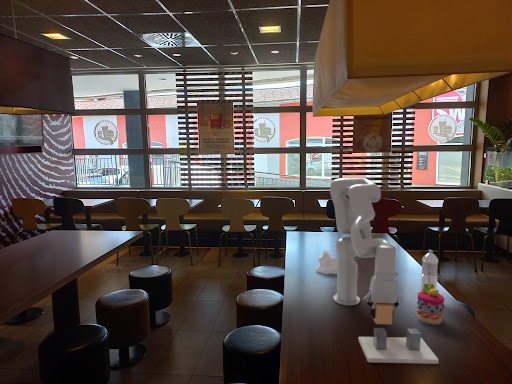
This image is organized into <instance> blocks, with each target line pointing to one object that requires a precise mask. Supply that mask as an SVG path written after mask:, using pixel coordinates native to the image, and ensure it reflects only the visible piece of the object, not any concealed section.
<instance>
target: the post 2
mask: <svg viewBox="0 0 512 384" xmlns="http://www.w3.org/2000/svg"><path fill="white" fill-rule="evenodd" d="M405 338H406V346H407V347H408V349H409V350H410V351H420V340H421V338H422V334H421V332H420V330H418V329H417V328H406V336H405Z"/></svg>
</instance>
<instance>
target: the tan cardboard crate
mask: <svg viewBox="0 0 512 384" xmlns="http://www.w3.org/2000/svg"><path fill="white" fill-rule="evenodd" d="M392 314H393V306H392V304H390V303H377V304H376V306H375V319H373V317H372V316H371V318H372V319H373V322H374V323H375V325H393V317H392Z"/></svg>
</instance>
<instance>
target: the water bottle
mask: <svg viewBox="0 0 512 384" xmlns="http://www.w3.org/2000/svg"><path fill="white" fill-rule="evenodd" d="M433 252H434V250H432V249H428V253H426V254H425V255H423V256H422V258H421V259H422V262H421V263H422V266H421V267H422V268H421V280H420V292H421V291H423V288H424V286H423V285H424V283H427V284H428V286H430V284H434V289H435V290H437V285H438V284H437V282H438V264H439V259H438V257H437V256H436V254H434V253H433Z"/></svg>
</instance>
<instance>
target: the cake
mask: <svg viewBox="0 0 512 384" xmlns="http://www.w3.org/2000/svg"><path fill="white" fill-rule="evenodd" d="M423 286H424V288H423V291H421V290H420V292H418V293H417V306H416V308H417V310H416V313H417V314H416V318H417V319H419V320H418V321H419V322H421V321H422V323H423V322H424V324H426V323H427V324H426V325H430V324H432V326H438V325H441V324H442V323H443V317H444V314H445V313H444V308H445V304H444V302H445V297H444V295H442V294H440V293H439V292H440V291H439V290H438V289H436V290H435V289H434V284H430V286H428V284H427V283H424V285H423Z"/></svg>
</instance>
